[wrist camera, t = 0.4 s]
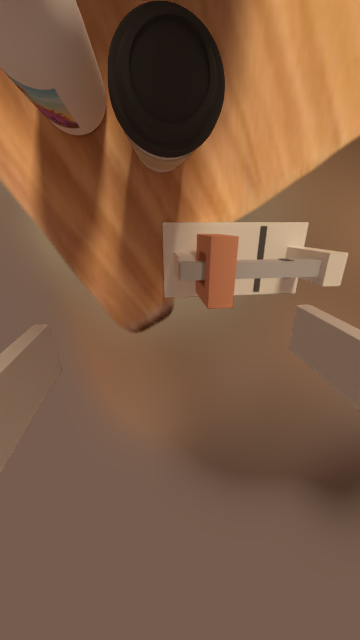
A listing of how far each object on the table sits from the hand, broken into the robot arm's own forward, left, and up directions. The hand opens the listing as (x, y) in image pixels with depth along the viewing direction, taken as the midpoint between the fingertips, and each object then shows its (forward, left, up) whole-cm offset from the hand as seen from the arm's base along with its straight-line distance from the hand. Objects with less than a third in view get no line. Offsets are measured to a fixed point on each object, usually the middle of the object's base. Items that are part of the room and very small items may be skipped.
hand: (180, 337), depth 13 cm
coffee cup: (-16, 0, -25) cm, 30 cm away
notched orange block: (-1, +6, -18) cm, 19 cm away
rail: (-1, +11, -25) cm, 28 cm away
